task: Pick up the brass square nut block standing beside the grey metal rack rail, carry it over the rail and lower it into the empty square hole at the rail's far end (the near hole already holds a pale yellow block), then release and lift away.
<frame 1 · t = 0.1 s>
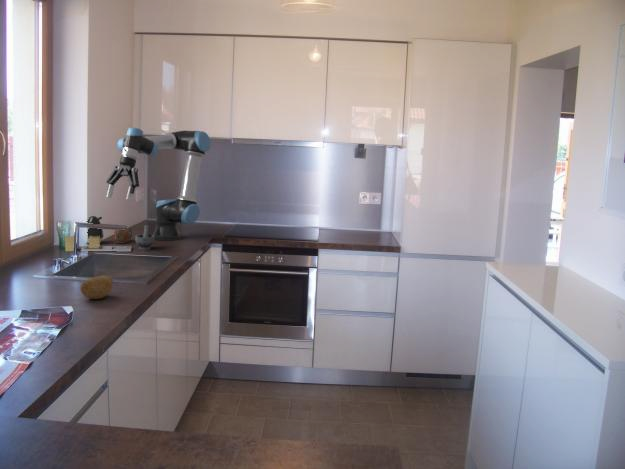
hand: (118, 198, 276), 28 cm above the countertop, tool tilted 20°, fingers open, 13 cm apart
mortar and pestle: (145, 248, 297), on the countertop
potato: (98, 298, 203), on the countertop
rack rail: (106, 249, 289), on the countertop
pale yellow block: (94, 250, 287), resting in rack rail
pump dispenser: (93, 243, 304), on the countertop
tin: (122, 242, 312), on the countertop
nut block: (71, 250, 284), on the countertop
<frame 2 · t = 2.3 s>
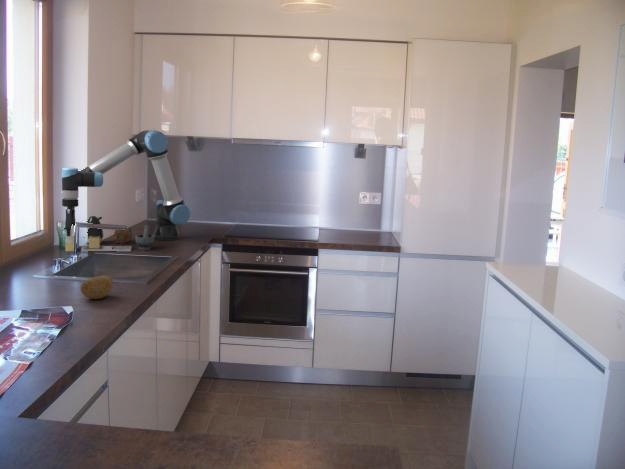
hand: (70, 240, 283), 5 cm above the countertop, tool pointing down, fingers open, 13 cm apart
nothing on the countertop moved.
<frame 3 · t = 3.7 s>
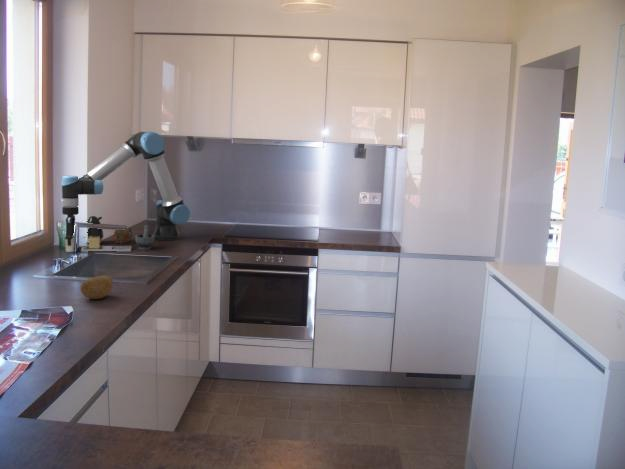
hand: (71, 249, 284), 0 cm above the countertop, tool pointing down, fingers open, 10 cm apart
nothing on the countertop moved.
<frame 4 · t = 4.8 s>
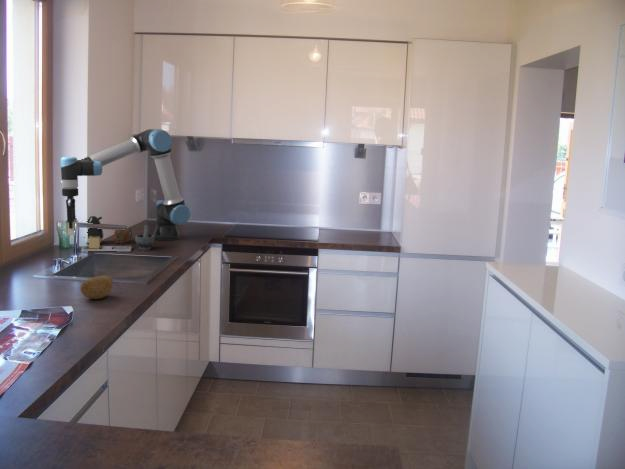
hand: (72, 233, 283), 9 cm above the countertop, tool pointing down, fingers closed on nut block, 5 cm apart
nut block: (72, 234, 283), point 8 cm above the countertop, touching gripper
everything else where it was.
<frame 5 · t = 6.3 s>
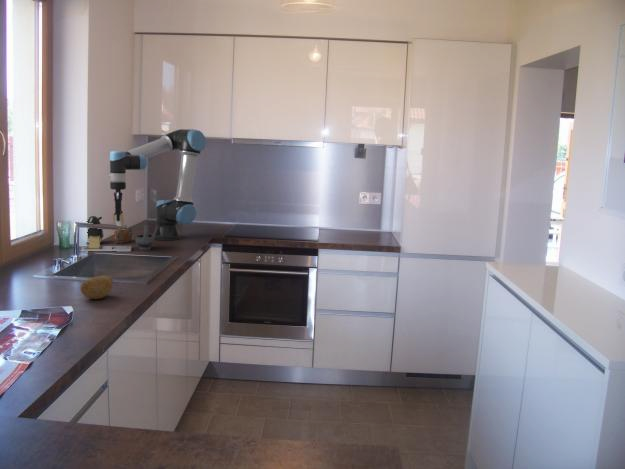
hand: (118, 226, 289), 12 cm above the countertop, tool pointing down, fingers closed on nut block, 5 cm apart
nut block: (118, 226, 289), point 12 cm above the countertop, touching gripper
everything else where it was.
when the fingers open (2 cm above the countertop, at t = 7.8 s): nut block drops 1 cm, resting in rack rail.
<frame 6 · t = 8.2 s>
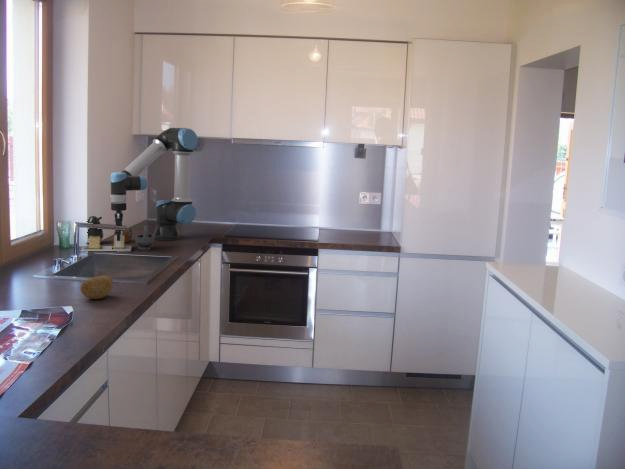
hand: (119, 244, 290), 3 cm above the countertop, tool pointing down, fingers open, 10 cm apart
nut block: (119, 249, 291), resting in rack rail
everything else where it was.
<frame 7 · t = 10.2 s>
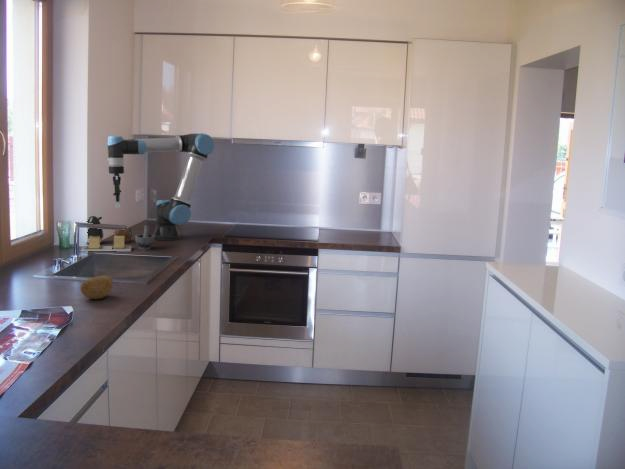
hand: (117, 206, 295), 22 cm above the countertop, tool pointing down, fingers open, 13 cm apart
nothing on the countertop moved.
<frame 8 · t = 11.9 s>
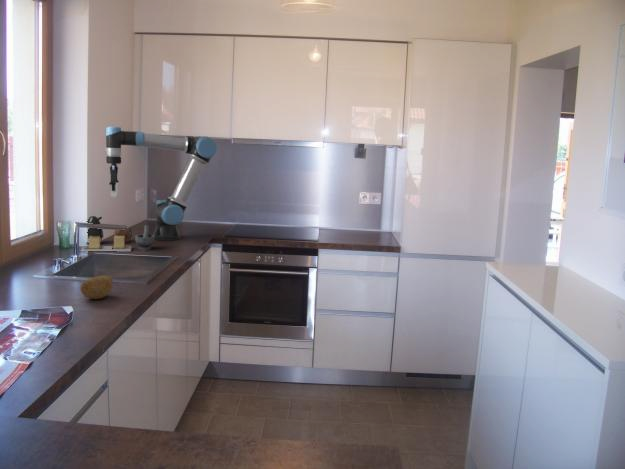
hand: (114, 195, 301), 27 cm above the countertop, tool pointing down, fingers open, 13 cm apart
nothing on the countertop moved.
at the end: nut block 0.1 cm from the target spot on the rack rail, point 0.0 cm above the rack rail's base; nut block tilted 0°; the gripper is holding nothing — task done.
